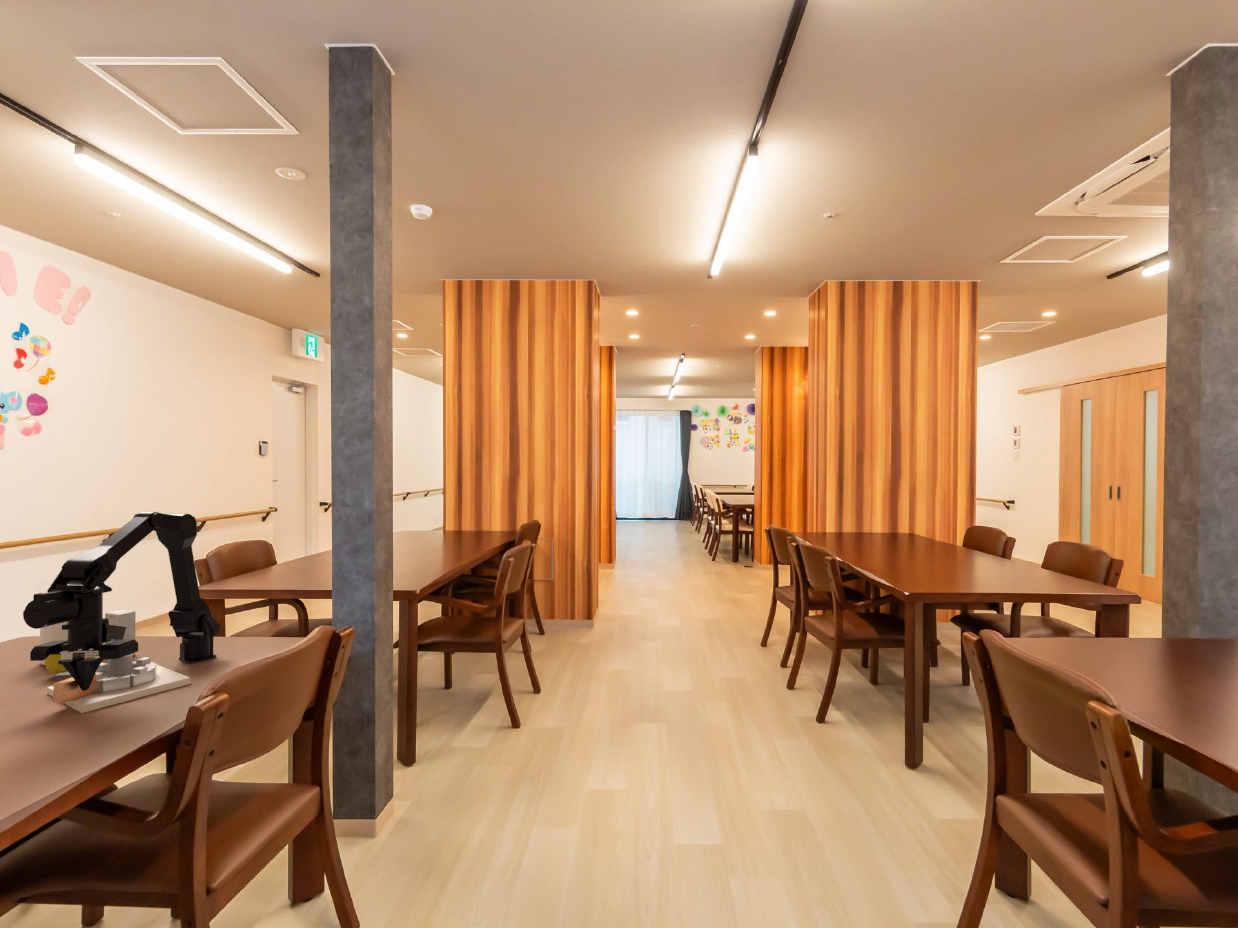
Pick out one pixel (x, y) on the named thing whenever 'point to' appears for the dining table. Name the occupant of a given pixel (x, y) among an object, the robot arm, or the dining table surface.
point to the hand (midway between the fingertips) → (85, 689)
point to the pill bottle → (52, 635)
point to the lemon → (54, 664)
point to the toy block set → (105, 681)
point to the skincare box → (123, 622)
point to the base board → (118, 668)
